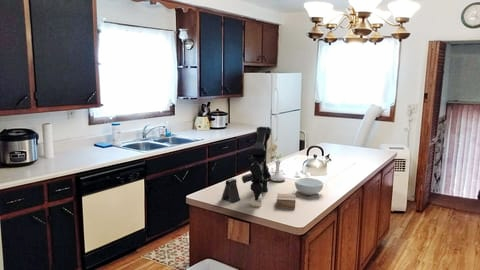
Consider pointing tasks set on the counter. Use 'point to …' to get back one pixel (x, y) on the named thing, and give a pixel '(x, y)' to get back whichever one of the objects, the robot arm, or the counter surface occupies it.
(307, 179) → the cereal bowl
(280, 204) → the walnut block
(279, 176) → the flower in vase
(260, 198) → the maple cube
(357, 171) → the counter surface
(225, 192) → the dark grey tapered block
